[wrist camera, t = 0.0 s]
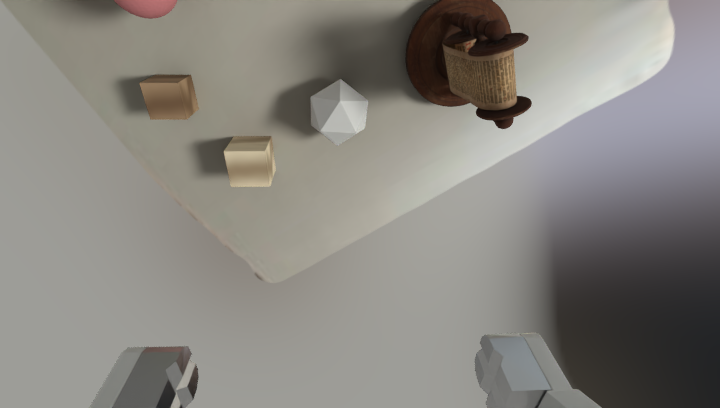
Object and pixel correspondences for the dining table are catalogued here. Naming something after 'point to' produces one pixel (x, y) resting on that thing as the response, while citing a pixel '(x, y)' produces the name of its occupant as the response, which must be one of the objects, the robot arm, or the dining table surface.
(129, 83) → the dining table surface
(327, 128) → the die
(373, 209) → the dining table surface
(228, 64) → the dining table surface
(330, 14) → the dining table surface
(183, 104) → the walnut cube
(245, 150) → the oak cube
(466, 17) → the scroll
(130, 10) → the light bulb
